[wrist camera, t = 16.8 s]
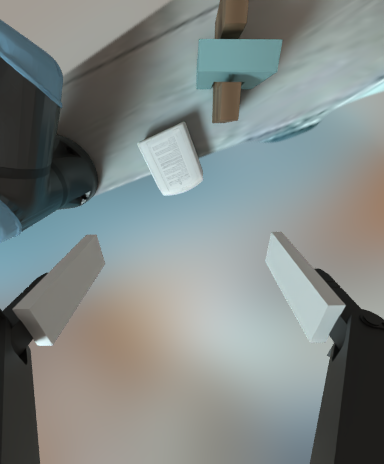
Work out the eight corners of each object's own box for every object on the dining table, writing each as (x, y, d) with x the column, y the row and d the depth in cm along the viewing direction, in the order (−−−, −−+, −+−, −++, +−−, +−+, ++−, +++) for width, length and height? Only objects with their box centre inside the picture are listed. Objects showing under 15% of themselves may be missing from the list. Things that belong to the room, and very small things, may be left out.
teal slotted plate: (196, 88, 34) (198, 71, 24) (196, 67, 33) (199, 39, 22) (250, 89, 34) (277, 71, 24) (253, 68, 33) (282, 39, 22)
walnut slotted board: (212, 122, 37) (220, 120, 26) (215, 22, 30) (227, -35, 20) (224, 122, 37) (238, 120, 26) (230, 22, 30) (251, -35, 20)
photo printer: (138, 142, 39) (165, 196, 44) (133, 144, 35) (163, 202, 40) (184, 120, 37) (206, 179, 42) (184, 119, 33) (208, 184, 39)
